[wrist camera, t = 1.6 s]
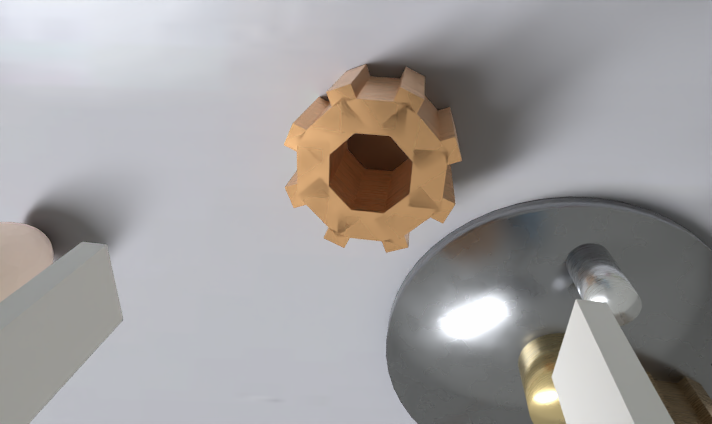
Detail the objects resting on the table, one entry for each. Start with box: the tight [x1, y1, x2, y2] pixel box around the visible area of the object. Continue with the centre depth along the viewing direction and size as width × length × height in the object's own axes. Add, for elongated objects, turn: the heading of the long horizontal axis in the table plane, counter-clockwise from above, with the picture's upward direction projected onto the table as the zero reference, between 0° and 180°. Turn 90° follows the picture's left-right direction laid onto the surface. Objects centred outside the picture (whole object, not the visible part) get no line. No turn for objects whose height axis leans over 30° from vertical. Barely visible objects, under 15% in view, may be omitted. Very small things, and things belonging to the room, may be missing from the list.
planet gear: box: [284, 64, 462, 253], centre depth 25 cm, size 8×8×6 cm
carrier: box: [386, 197, 712, 424], centre depth 29 cm, size 23×23×8 cm
